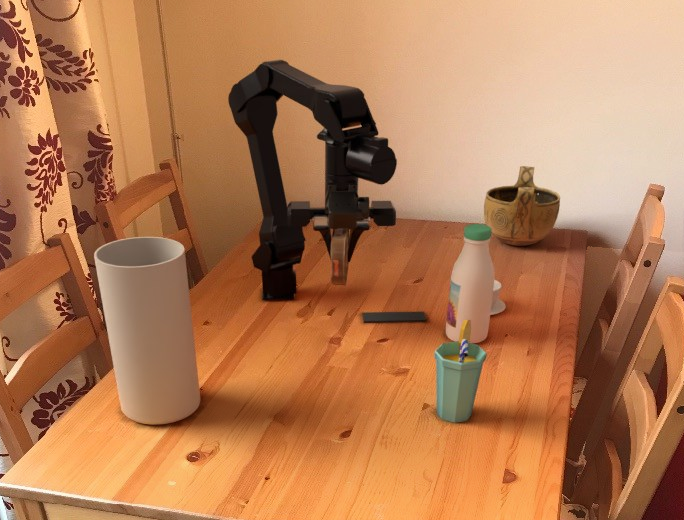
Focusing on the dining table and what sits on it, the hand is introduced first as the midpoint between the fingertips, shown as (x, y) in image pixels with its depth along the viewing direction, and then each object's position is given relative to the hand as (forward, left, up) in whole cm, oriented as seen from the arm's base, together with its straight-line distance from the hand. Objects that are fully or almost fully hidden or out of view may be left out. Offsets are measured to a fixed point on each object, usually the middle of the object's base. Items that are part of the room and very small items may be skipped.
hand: (340, 261), depth 144 cm
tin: (0, 0, -3) cm, 3 cm away
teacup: (+28, +7, -13) cm, 32 cm away
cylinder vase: (-30, -30, -13) cm, 44 cm away
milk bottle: (+23, -6, -13) cm, 27 cm away
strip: (+11, +3, -12) cm, 16 cm away
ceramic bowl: (+44, +45, -13) cm, 64 cm away
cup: (+16, -35, -13) cm, 40 cm away
